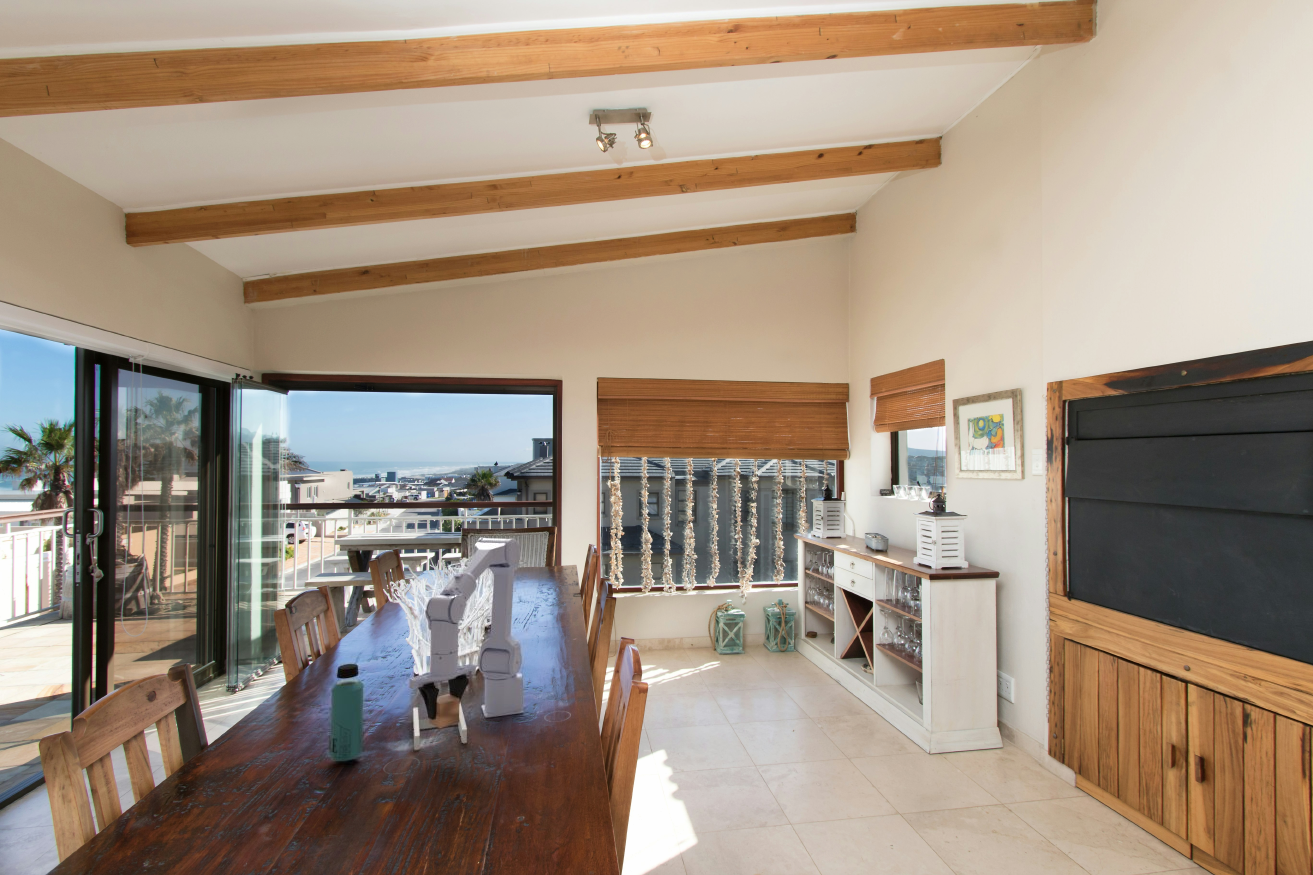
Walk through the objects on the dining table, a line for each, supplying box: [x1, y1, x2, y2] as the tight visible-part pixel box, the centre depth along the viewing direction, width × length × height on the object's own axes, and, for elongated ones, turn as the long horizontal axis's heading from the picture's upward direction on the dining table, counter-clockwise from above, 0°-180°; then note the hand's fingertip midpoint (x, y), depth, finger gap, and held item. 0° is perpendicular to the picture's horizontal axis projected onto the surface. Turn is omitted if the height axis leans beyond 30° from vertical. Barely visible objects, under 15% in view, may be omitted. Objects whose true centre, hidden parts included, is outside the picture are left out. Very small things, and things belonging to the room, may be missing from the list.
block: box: [428, 693, 461, 729], centre depth 140 cm, size 4×4×5 cm
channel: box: [412, 702, 468, 751], centre depth 153 cm, size 11×18×3 cm, turn 21°
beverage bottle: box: [328, 663, 365, 762], centre depth 137 cm, size 6×7×20 cm
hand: (442, 714), depth 141 cm, fingers closed on block, 4 cm apart
